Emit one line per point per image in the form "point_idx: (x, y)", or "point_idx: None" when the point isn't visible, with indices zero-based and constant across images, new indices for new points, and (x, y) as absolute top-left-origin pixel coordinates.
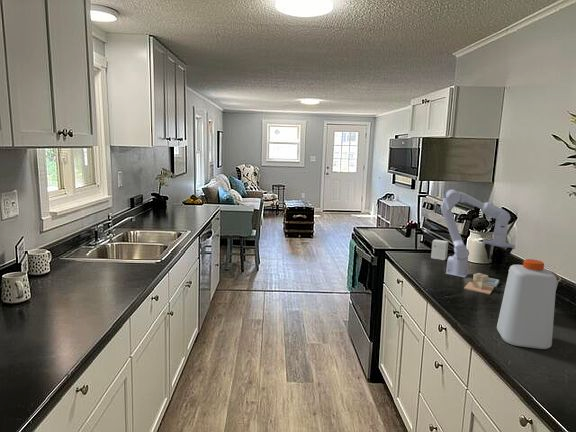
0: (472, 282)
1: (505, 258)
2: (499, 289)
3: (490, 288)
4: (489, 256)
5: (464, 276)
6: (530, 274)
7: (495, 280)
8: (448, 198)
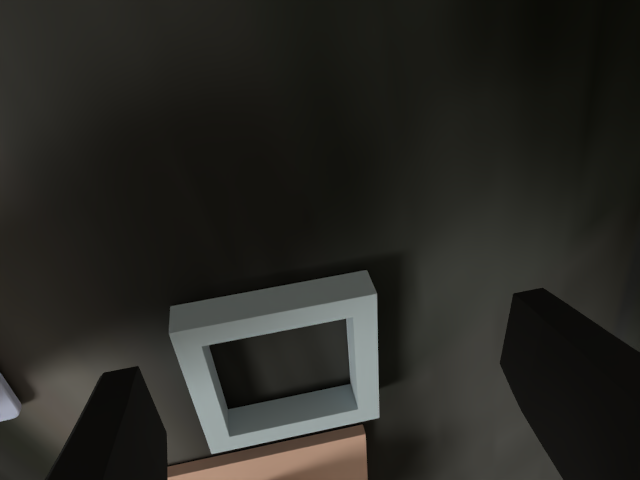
0: (180, 476)
1: (569, 463)
2: (405, 416)
3: (350, 476)
4: (144, 467)
5: (7, 409)
6: None
7: (337, 312)
8: None
